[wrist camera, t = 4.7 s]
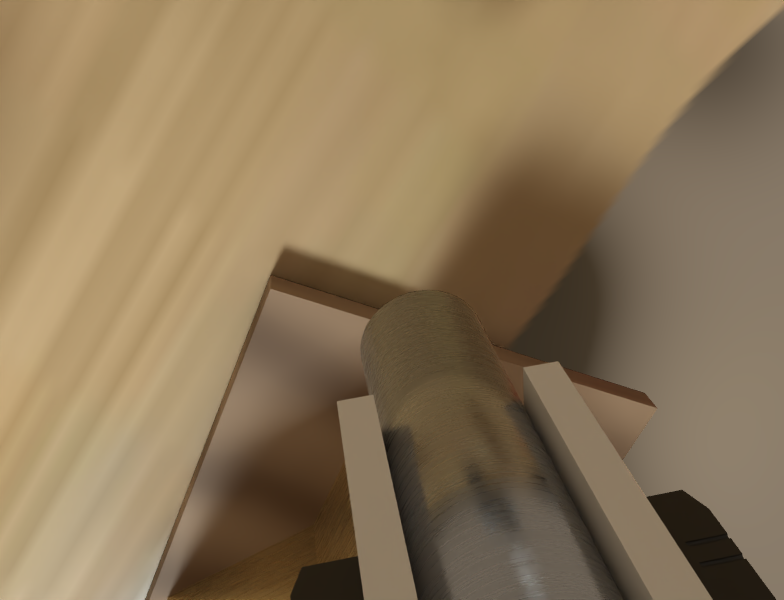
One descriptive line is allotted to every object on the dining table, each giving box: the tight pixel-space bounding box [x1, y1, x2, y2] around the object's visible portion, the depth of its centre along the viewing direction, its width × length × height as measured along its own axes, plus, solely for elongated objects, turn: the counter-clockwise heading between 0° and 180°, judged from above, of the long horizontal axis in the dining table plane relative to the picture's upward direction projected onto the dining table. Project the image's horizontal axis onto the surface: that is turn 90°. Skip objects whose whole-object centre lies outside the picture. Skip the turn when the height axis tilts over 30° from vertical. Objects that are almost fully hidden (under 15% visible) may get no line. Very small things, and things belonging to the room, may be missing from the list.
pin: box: [360, 290, 624, 600], centre depth 13 cm, size 3×3×12 cm
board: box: [145, 275, 657, 600], centre depth 33 cm, size 20×18×1 cm
